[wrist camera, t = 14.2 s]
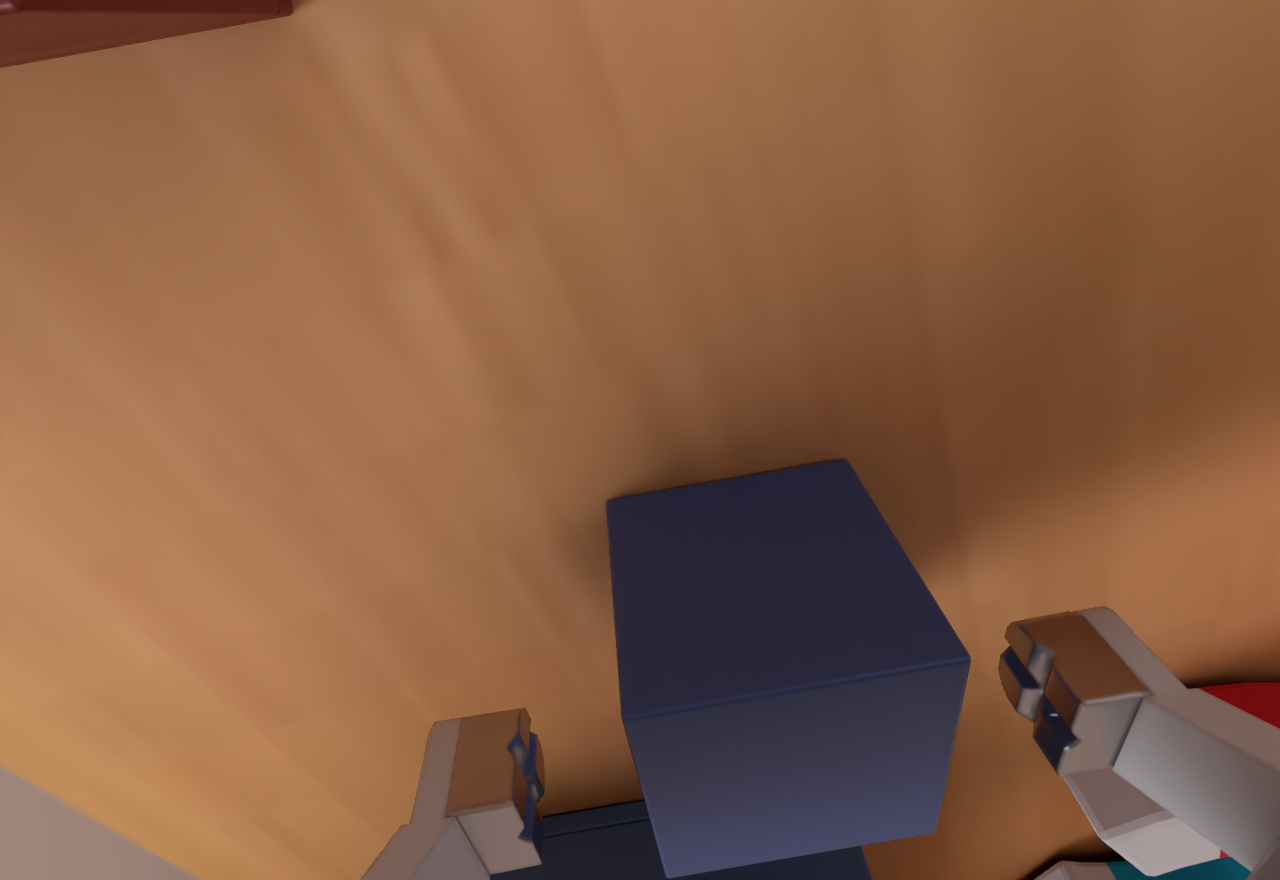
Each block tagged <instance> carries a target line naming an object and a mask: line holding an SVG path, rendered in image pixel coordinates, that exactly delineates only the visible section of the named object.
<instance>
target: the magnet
mask: <svg viewBox="0 0 1280 880" xmlns="http://www.w3.org/2000/svg"><path fill="white" fill-rule="evenodd" d="M1199 689H1201V690H1203V691H1205V692H1207V693H1209V694H1211V695H1213V696H1215V697H1217V698H1219V699H1221V700H1223V701H1225V702H1227V703H1229V704H1231V705H1233V706H1235V707H1237V708H1239V709H1241V710H1243V711H1245V712H1247V713H1249V714H1251V715H1253V716H1255V717H1257V718H1259V719H1261V720H1263V721H1265V722H1267V723H1269V724H1271V725H1273V726H1275V727H1277V728H1279V729H1280V682H1245V683H1236V684H1227V685H1218V686H1209V687H1201V688H1199ZM1112 770H1113V768H1106V769H1099V770H1092V771H1085V772H1078V773H1071V774H1064V775H1062V776H1063V778H1064V780H1065V781H1066V783H1067V785H1068V786H1069V788H1070V790H1071V791H1072V793H1073V795H1074V796H1075V798H1076V800H1077V801H1078V803H1079V805H1080V806H1081V808H1082V810H1083V811H1084V813H1085V815H1086V816H1087V818H1088V820H1089V821H1090V823H1091V825H1092V827H1093V828H1094V830H1095V832H1096V833H1097V835H1098V837H1099V838H1100V839H1101V840H1102V841H1104V842H1105V843H1106V844H1107V845H1108V846H1110V847H1111V848H1112V849H1113V850H1115V851H1116V852H1117V853H1119V854H1120V855H1121V856H1122V857H1124V858H1125V859H1126V860H1127V861H1117V862H1072V861H1059V862H1058V863H1056V864H1055V865H1053V866H1052V867H1051V868H1049V869H1048V870H1046V871H1045V872H1044V873H1042V874H1041V875H1039V876H1038V877H1037V878H1035V879H1034V880H1246V879H1247V877H1248V876H1249V875H1250V873H1251V871H1250V870H1248V869H1247V868H1246V867H1244V866H1243V865H1241V864H1240V863H1239V862H1237V861H1236V860H1235V859H1233V858H1232V857H1230V856H1229V855H1228V854H1226V853H1225V852H1224V851H1222V850H1221V849H1219V848H1218V847H1217V846H1215V845H1214V844H1213V843H1211V842H1210V841H1208V840H1207V839H1206V838H1204V837H1203V836H1202V835H1200V834H1199V833H1197V832H1196V831H1195V830H1193V829H1192V828H1190V827H1189V826H1188V825H1186V824H1185V823H1184V822H1182V821H1181V820H1179V819H1178V818H1177V817H1175V816H1174V815H1173V814H1171V813H1170V812H1168V811H1167V810H1166V809H1164V808H1163V807H1162V806H1160V805H1159V804H1157V803H1156V802H1155V801H1153V800H1152V799H1151V798H1149V797H1148V796H1146V795H1145V794H1144V793H1142V792H1141V791H1140V790H1138V789H1137V788H1135V787H1134V786H1133V785H1131V784H1130V783H1129V782H1127V781H1126V780H1124V779H1123V778H1122V777H1120V776H1119V775H1118V774H1116V773H1115V772H1113V771H1112Z"/></svg>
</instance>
